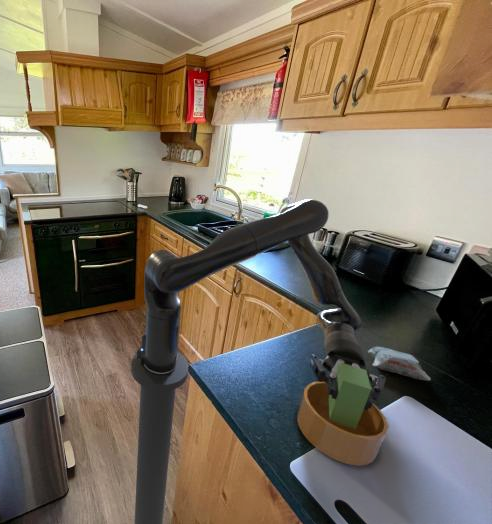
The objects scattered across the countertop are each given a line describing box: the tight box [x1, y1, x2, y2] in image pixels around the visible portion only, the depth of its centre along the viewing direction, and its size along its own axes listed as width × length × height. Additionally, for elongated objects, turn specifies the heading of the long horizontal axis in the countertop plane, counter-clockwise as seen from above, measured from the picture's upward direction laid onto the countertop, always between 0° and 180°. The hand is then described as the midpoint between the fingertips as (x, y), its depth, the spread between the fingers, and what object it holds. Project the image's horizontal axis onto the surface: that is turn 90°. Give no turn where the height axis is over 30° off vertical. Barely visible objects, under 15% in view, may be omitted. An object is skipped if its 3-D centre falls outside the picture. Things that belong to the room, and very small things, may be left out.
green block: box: [328, 363, 372, 429], centre depth 58 cm, size 4×6×10 cm
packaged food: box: [367, 346, 432, 382], centre depth 80 cm, size 9×12×5 cm
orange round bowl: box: [296, 381, 389, 467], centre depth 60 cm, size 14×14×7 cm
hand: (350, 400), depth 55 cm, fingers closed on green block, 4 cm apart
